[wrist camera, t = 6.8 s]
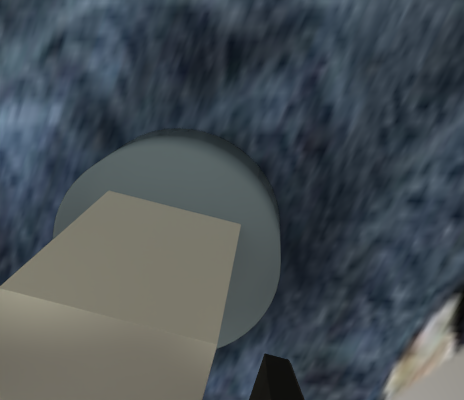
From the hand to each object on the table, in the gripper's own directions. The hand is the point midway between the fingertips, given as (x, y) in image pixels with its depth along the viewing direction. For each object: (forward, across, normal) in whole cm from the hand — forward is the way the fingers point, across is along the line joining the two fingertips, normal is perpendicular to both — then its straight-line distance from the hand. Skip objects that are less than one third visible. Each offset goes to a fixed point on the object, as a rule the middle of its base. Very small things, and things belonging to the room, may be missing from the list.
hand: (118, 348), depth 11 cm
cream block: (+4, 0, 0) cm, 5 cm away
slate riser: (+8, 0, 0) cm, 8 cm away
